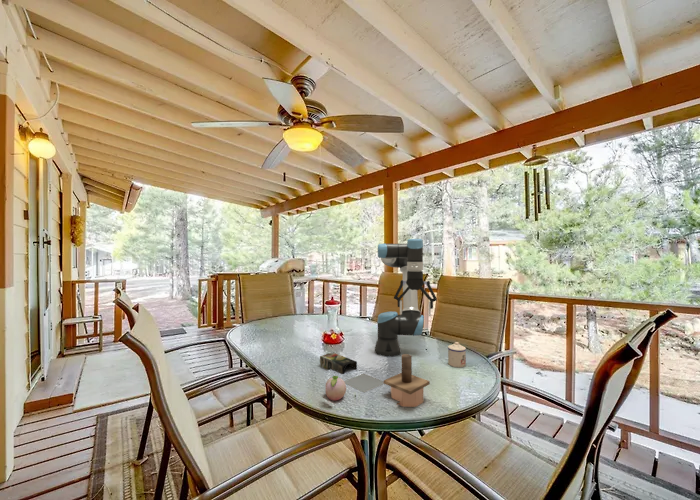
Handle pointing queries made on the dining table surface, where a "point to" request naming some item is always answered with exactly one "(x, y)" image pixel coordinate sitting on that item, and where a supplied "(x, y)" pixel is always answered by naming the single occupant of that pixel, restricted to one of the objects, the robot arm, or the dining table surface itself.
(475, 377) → the dining table surface
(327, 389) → the decorative fruit
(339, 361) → the juice carton
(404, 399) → the bowl
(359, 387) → the mat
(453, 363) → the teacup with lid
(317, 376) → the dining table surface
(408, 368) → the lid
